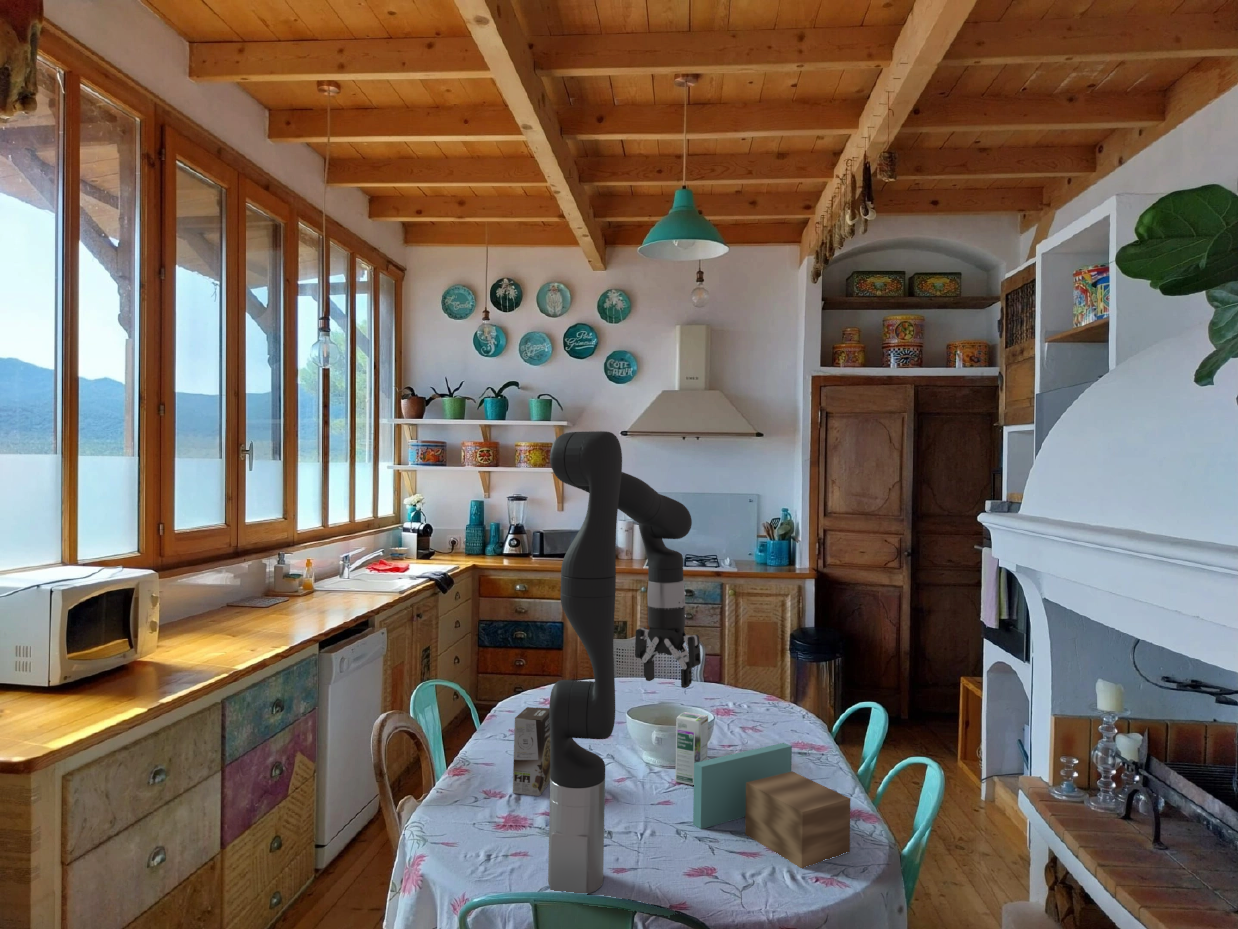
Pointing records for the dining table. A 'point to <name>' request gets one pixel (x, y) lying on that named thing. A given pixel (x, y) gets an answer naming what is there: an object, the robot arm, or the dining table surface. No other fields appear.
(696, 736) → the syrup box
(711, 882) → the dining table surface
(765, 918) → the dining table surface
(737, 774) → the teal board
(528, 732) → the coffee box
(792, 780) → the walnut block
